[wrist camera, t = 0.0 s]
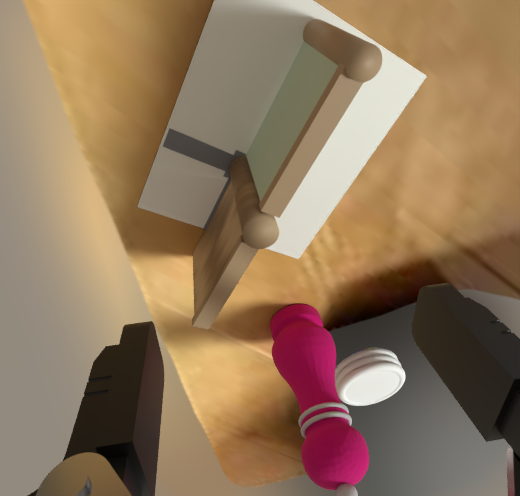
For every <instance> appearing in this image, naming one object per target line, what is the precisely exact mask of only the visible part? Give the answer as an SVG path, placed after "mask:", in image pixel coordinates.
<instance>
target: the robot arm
mask: <svg viewBox="0 0 520 496" xmlns="http://www.w3.org/2000/svg"><path fill="white" fill-rule="evenodd" d="M412 333H413V337H414V340H415V342H416V344H417V346H418V347H419V348H420V350H421V351H422V353H423V354H424V355H425V357H426V358H427V360H428V361H429V362H430V364H431V365H432V367H433V368H434V369H435V370H436V372H437V373H438V375H439V376H440V378H441V379H442V380H443V382H444V383H445V385H446V386H447V387H448V389H449V390H450V391H451V393H452V394H453V396H454V397H455V399H456V400H457V401H458V403H459V404H460V406H461V407H462V408H463V410H464V411H465V412H466V414H467V415H468V417H469V418H470V419H471V421H472V422H473V424H474V425H475V426H476V428H477V429H478V430H479V432H480V433H481V435H482V436H483V437H484V439H485V440H486V441H491V440H498V439H503V438H504V439H505V440H506V441H507V442H508V444H509V445H510V446H509V448H508V451H507V481H508V496H520V339H519V338H518V337H517V336H516V335H515V334H514V333H511V330H510V329H509V328H508V327H507V326H505V325H504V324H503V323H500V321H499V319H498V318H497V317H496V316H495V315H494V314H493V313H491V312H490V311H489V310H488V309H487V308H486V307H484V306H482V305H481V304H479V303H477V302H475V301H474V300H472V299H470V298H464V297H463V295H462V294H461V293H459V292H458V291H457V290H456V289H455V288H454V287H453V286H452V285H451V284H448V283H445V284H438V285H430V286H424V287H422V288H421V289H420V291H419V295H418V299H417V304H416V309H415V313H414V318H413V322H412ZM163 389H164V366H163V360H162V355H161V351H160V347H159V343H158V339H157V335H156V330H155V326H154V323H153V322H152V321H151V322H143V323H135V324H128V325H125V326H124V327H123V332H122V335H121V339H120V344H119V345H112V346H106V347H105V348H104V350H103V351H102V352H101V353H100V355H99V356H98V357H97V359H96V360H95V361H94V363H93V366H92V369H91V372H90V376H89V382H88V383H87V385H86V389H85V392H84V397H83V399H82V402H81V405H80V409H79V412H78V415H77V419H76V422H75V425H74V428H73V432H72V435H71V438H70V442H69V445H68V448H67V452H66V454H65V457H64V459H63V461H62V462H61V463H60V464H58V465H57V466H56V467H55V468H54V469H53V470H52V471H51V472H50V473H49V474H48V475H47V476H46V478H45V479H44V480H43V482H42V483H41V485H40V487H39V489H37V490H36V491H34V492H33V493H31V494H30V495H28V496H155V484H156V473H157V460H158V449H159V436H160V424H161V413H162V399H163Z"/></svg>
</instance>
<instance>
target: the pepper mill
mask: <svg viewBox="0 0 520 496" xmlns="http://www.w3.org/2000/svg"><path fill="white" fill-rule="evenodd" d="M270 329H271V333H272V337H273V340H274V341H275V342H274V344H273V347H272V357H273V360H274V363H275V365H276V367H277V369H278V371H279V373H280V374H281V375H282V377H283V378H284V379H285V380H286V381H287V383H288V384H289V385H290V387H291V388H292V390H293V392H294V393H295V395H296V398H297V401H298V404H299V406H300V412H301V416H300V418H299V426H300V427H301V434H302V436H303V437H304V438H306V439H305V441H304V443H303V446H302V453H301V456H302V462H303V465H304V468H305V471H306V472H307V474H308V476H309V477H310V479H311V480H312V481H313V482H314V483H315V484H317V485H318V486H320V487H322V488H325V489H329V490H337V491H336V496H358V494H357V491H356V489H355V487H353V485H355V484H356V483H358V482H359V481H360V480H361V479H362V478H363V476H364V475H365V473H366V471H367V468H368V464H369V453H368V449H367V445H366V442H365V440H364V439H363V436H362V435H361V434H360V432H358V431H357V430H356V429H355V428H353V427H351V423H352V419H351V417H350V416H349V414H348V412H349V411H348V409H347V407H346V406H345V405H343V404H341V402H340V400H339V397H338V394H337V390H336V385H335V366H336V349H335V344H334V341H333V338H332V336H331V334H330V333H329V332H328V331H327V330H326V329H325V328H323V324H322V321H321V318H320V315H319V313H318V311H317V310H316V309H315V308H313V307H311V306H309V305H305V304H295V305H290V306H287V307H285V308H283V309H281V310H280V311H278V312H277V313H276V314H275V315H274V316H273V318H272V320H271V322H270Z"/></svg>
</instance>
